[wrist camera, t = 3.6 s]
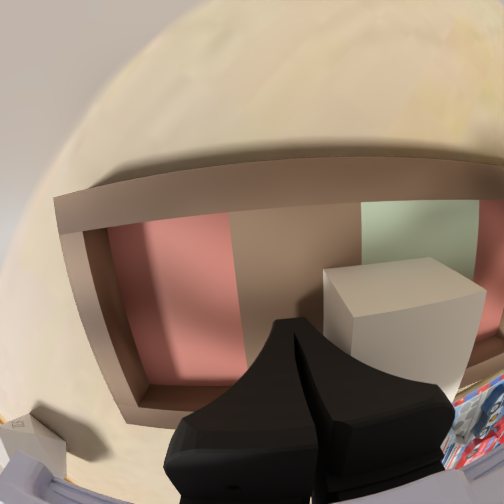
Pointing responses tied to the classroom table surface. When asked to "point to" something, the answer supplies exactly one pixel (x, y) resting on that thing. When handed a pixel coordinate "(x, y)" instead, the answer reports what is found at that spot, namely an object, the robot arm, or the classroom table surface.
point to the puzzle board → (476, 422)
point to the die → (33, 444)
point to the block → (405, 318)
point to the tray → (261, 262)
